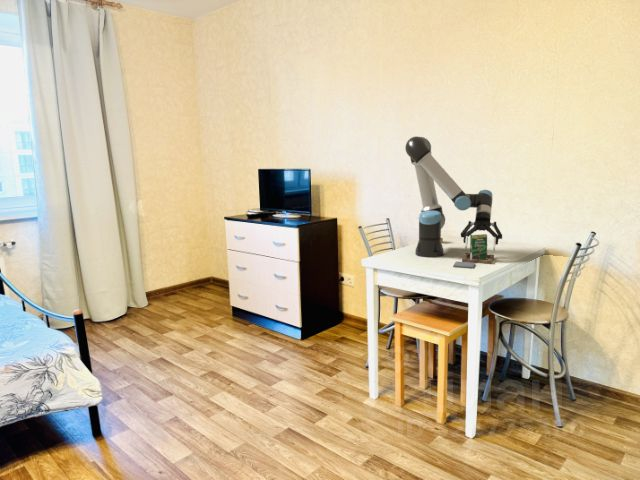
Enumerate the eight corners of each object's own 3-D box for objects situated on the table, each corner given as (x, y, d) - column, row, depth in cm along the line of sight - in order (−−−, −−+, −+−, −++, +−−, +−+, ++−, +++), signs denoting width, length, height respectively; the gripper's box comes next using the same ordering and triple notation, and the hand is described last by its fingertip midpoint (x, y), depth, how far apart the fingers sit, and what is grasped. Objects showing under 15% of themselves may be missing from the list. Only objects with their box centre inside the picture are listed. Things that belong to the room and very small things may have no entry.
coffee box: (471, 260, 225) (472, 235, 223) (469, 259, 228) (470, 234, 225) (487, 260, 225) (488, 234, 222) (485, 259, 228) (486, 234, 225)
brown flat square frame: (461, 262, 223) (462, 259, 222) (465, 255, 236) (465, 253, 236) (491, 264, 217) (491, 261, 216) (493, 257, 230) (494, 254, 230)
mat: (453, 267, 213) (453, 265, 213) (455, 263, 221) (456, 261, 221) (472, 268, 209) (472, 266, 209) (474, 264, 217) (474, 262, 217)
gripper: (508, 220, 232) (506, 253, 221) (459, 219, 242) (454, 251, 232) (508, 211, 226) (506, 245, 216) (458, 210, 237) (453, 243, 226)
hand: (479, 248), depth 224 cm, fingers open, 13 cm apart
